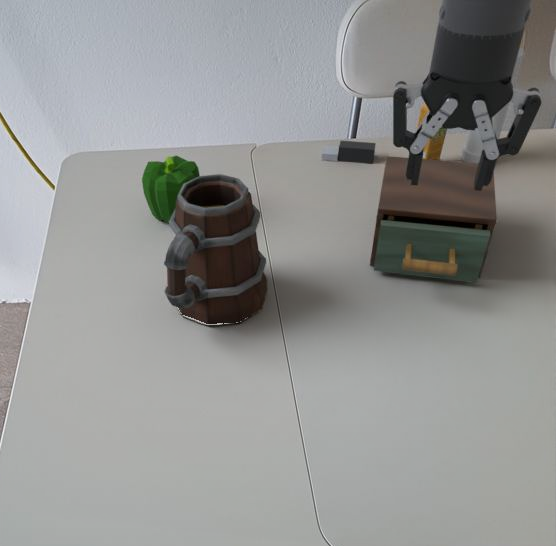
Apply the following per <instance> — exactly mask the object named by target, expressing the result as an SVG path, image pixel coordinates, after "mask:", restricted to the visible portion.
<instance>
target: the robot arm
mask: <svg viewBox="0 0 556 546" xmlns="http://www.w3.org/2000/svg"><path fill="white" fill-rule="evenodd" d="M532 4H533V0H441V6H440V8H439V12H438V13H439V14H438V15H439V17H438V22H437V26H436V27H437V29H436V32H435V33H436V35H435V39H434V43H433V44H434V45H433V50H432V56H431V61H430V67H429V72H428V74H427V76H426V77H425V79H424V80H423V82H422V83H413V84H407V82H405V81H404V80H400V81H398V82H397V83H396V84H395V86H394V90H393V95H392V96H393V97H392V119H393V120H392V143H393V144H392V145H393V146H394V147H396V148H404V149H406V150H407V151H408V157H407V158H408V163H407V169H406V178H407V179H409V180H411V185H418V180H419V174H420V169H421V164H422V159H423V151H424V147H425V145H426V144H427V143H428V141H429V140H430V139H431V138H433V137H434V135H435V134H436V133H437V132H438V130H439V129H440V128H441V126H443V128H445V129H447V130H451V129H458V128H459V129H462V130H465V131H468V130H475V128H478V130H479V134H480V137H481V141H482V143H483V146H484V150H482V153H481V157H480V161H479V165H478V169H477V173H476V177H475V181H474V190H478V191H482V188H483V186H488V185H489V183H490V182H491V179H492V175H493V172H494V173H495V168H496V164H497V161H498V159H499V158H500V157H502V156H507V155H509V156H516V155H518V154H519V153H520V151H521V149H522V147H523V145H524V142H525V141H526V138H527V136H528V133H529V131H530V130H531V127H532V125H533V123H534V121H535V119H536V116H537V114H538V112H539V111H540V108H541V106H542V99H541V93H540V90H539V88H537V87H530V88H528V89H527V90H525V89H524V90H523V89H519V88H515V87H514V88H513V86H512V83H511V80H512V75H513V71H514V67H515V64H516V60H517V56H518V52H519V49H520V47H521V46H522V45H521V44H522V42H523V37H524V33H525V29H526V27H527V22H528V21H529V19H530V16H531V13H532ZM419 97H421V98H422V100H423V102H424V104H426V105H427V107H428V109H429V112H428V113H427V114H426V116H425V117H424V119H423V121H422V123H421V124H420V126H419V127H418V128H417V127H416V130H414V132H412V131H410V130H408V129H407V127H408V124H407V123H408V109H411V108H413V106H414V105H415V101H416V99H417V98H419ZM509 102H510V103H512V104H513V107H512V108H513V112H514V114H515V117H514V118H513V121H512V123H511V126H510V128H509V129H508V132H507V135H506V136H505V137H499V139H497V136H496V132H495V128H494V123H493V119H492V117H493V116H494V115H496V114H497V113H498V112H499V111H500V110H501V109H502V108H503V107H504V106H506V105H507V104H508V103H509ZM510 103H509V104H510Z"/></svg>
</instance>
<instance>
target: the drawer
mask: <svg viewBox="0 0 556 546" xmlns="http://www.w3.org/2000/svg"><path fill="white" fill-rule="evenodd" d="M482 227H483V224H478V223H468V222H457V221H447V220H436V219H426V218H416V217H405V216H395V215H388V216H387V220H381V225H380V232H379V238H378V245H377V252H376V258H375V265H374V266H373V272H374V271H375V272H383V273H384V272H385V273H393V274H400V275H401V274H402V275H409V276H418V277H425V278H434V279H444V280H452V281H459V282H469V283H478V279H479V278H478V276H479V273H480V269H481V266H482V262H483V259H484V256H485V252H486V249H487V245H488V242H489V238H490V231H489V230H482Z"/></svg>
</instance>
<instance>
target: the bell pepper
mask: <svg viewBox="0 0 556 546" xmlns="http://www.w3.org/2000/svg"><path fill="white" fill-rule="evenodd" d="M199 169H200V168H199V166H198V165H197V163H196V161H195V160H194V161H193V160H187V159H184V158H183V157H180V156H178V155H173V156H168V157H166V158H165V160H164V161H158V160H157V161H147V164H146V165H145V168H144V171H143V174H142V177H141V184H142V190H143V196H144V198H145V200H146V203H147V205H148V208H149V210H150V213H151V214H152V216H153V217H154V218H155V219H157V220H159V221H164V223H166V224H169V220H170V218H171V216H172V214H173V212H174V210H175V206H176V199H177V198H178V194H179V192H180V190H181V188H182V186H183V184H184V183H187V182H189V181H191V180H193V179H195V178H197V177H199V176H201V175H200V170H199Z"/></svg>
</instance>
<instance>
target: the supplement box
mask: <svg viewBox="0 0 556 546" xmlns="http://www.w3.org/2000/svg"><path fill="white" fill-rule="evenodd" d="M428 112H429V109H428V107H427V105H426V104H425V103H423V104H422V105H421V107H420V112H419V116H418V117H419V118H418V121H417V127H416V129H417V128H418V127H419V126H420V124H421V123H422V121H423V119H424V117H425V116H426V114H427V113H428ZM447 131H448V129H445V128H443V126H441V128H440V129H439V130H438V132H437V133H436V134H435V135H434V137H433V138H431V139H430V140H429V141H428V143H427V144H426V145H425V147H424V151H423V159H430V160H441V155H442V152H443V147H444V144H445V141H446V136H447Z"/></svg>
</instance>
